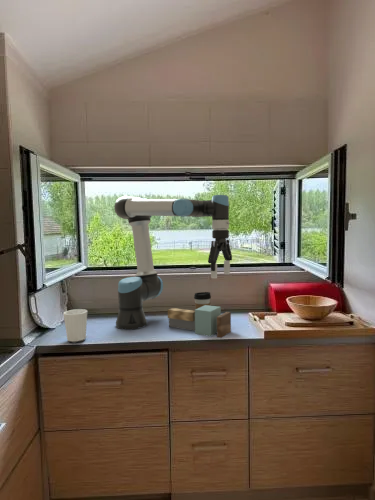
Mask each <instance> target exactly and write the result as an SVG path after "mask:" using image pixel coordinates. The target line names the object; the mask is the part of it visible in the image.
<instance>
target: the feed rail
mask: <svg viewBox="0 0 375 500" xmlns="http://www.w3.org/2000/svg"><path fill="white" fill-rule="evenodd" d="M168 326H169V327H170V328H175V329H176V328H177V329H182V330H190V331H195V321H186V320H179V319H172V318H168Z"/></svg>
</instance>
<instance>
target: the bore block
mask: <svg viewBox="0 0 375 500" xmlns="http://www.w3.org/2000/svg"><path fill="white" fill-rule="evenodd" d="M194 311H195V335H202V336H206V335H207V336H208V337H212V336H215V335H217V317H218V316H220V315H221V314H222V310H221V306H216V305H210V306H209V305H205V306H202V307H200V308H198V309H196V308H195V309H194Z"/></svg>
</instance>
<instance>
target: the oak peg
mask: <svg viewBox="0 0 375 500" xmlns="http://www.w3.org/2000/svg"><path fill="white" fill-rule="evenodd" d="M167 318H168V319H169V318H172V319H179V320H186V321H195V310H192V309H184V308H175V307H171V308H169V309H167Z"/></svg>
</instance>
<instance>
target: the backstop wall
mask: <svg viewBox="0 0 375 500" xmlns="http://www.w3.org/2000/svg"><path fill="white" fill-rule="evenodd" d="M231 313H232V312H230V311H225V312H223V313H221V315H220V316H218V317H217V333H216V336H217V337H216V338H220V339H222V338H224V337H225V336H227V335H228V334H230V333H231V332H232V314H231Z"/></svg>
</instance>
